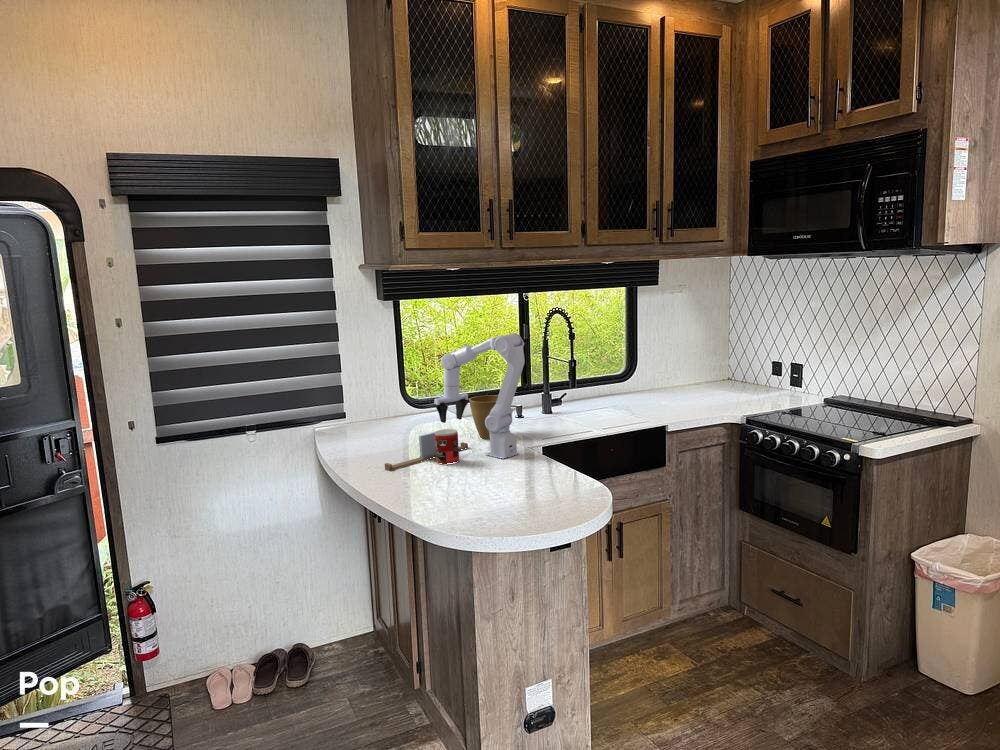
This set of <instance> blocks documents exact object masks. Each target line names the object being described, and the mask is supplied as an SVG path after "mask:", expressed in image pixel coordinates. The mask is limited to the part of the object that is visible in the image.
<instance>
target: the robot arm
mask: <svg viewBox="0 0 1000 750" xmlns="http://www.w3.org/2000/svg"><path fill="white" fill-rule="evenodd" d="M524 346H525V342H524V339H522V337H521V335H520V334H518V333H516V332H512V333H510V334H504V335H498V336H495V337H491V338H489V339H486V340H484V341H483V342H480V343H478V344H476V345H474V346H473V345H472V344H471V345H470V344H469V345H468V344H464V345H461V348H459V349H454V350H452V352H451V353H445V354H444V355H442V356H441V358H440V363H441V367H442V368H443V396H440V397H437V398H434V400H433V404H434V407H435V408H436V410H437V412H438V416H439V420H440V423H443V424H445V423H446V421H447V412H448V408H449V405H446V404H447V403H454V404H455V411H456V412H455V413H456V414H455V416H456V420H462V418H463V415H464V412H465V409H466V407H467V406H468V403H469V394H467V393H460V371H461V367H462V366H464V365H465V364H468V363H470V362H472V361H475V360H476V359H477V356H478V355H479V354H482V353H485V352H488V351H490V350H492V351H496V352H497V354H499V355H500V356H501V357H502V358H503V359H504V360H505V361H506V363H507V366H506V368H505V369H506V371H505V372H504V376H503V379H502V382H501V386H500V388H499V389H500V390H499V393H498V399H497V402H496V404H495V406H494V407H493V408H492V410H491V411H490V414H489V415H488V416H487V417H486V419H485V425H486V428H487V429H488V430H489V433H490V440H489V445H490V446H489V447H490V448H489V449H490V452H486V453H485V456H488V455H489V456H488V457H492V456H494V457H493V458H497V457H498V459H501V458H502V459H503V460H504V458H505V459H508V458H510V457H515V456H517V454H518V455H519V454H520V453H519V452H518V447H517V444H518V443H517V437H516V435H515V433H513V432H511V431H510V427H511V425H512V423H513V409H512V404H513V401H514V399H515V393H516V392H517V389H518V386H519V385H518V384H519V381H520V378H521V376H522V373H523V368H524V366H525V361H526V360H525V353H524ZM514 455H515V456H514ZM507 457H508V458H507Z"/></svg>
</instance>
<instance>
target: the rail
mask: <svg viewBox="0 0 1000 750" xmlns="http://www.w3.org/2000/svg"><path fill="white" fill-rule="evenodd" d="M458 446H459V450H461V449H465V448H468V449H469V444H468V443H467V442H460V444H459V445H458ZM465 450H466V449H465ZM461 451H462V450H461ZM433 457H436V455H434V456H430V457H427V458H420V457H416V458H413V459H409V460H407V461H403V462H399V463H396V464H392V463H389V462H387V463H384V470H385V471H389V472H390V471H394V470H397V469H400V468H404V467H408V466H412V465H415V464H418V463H417V462H419V463H422V462H425V461H424V460H426V461H428V460H427V459H430V458H433ZM433 459H434V458H433ZM430 460H431V459H430ZM421 461H422V462H421ZM414 463H415V464H414Z"/></svg>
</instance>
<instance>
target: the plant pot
mask: <svg viewBox="0 0 1000 750" xmlns="http://www.w3.org/2000/svg"><path fill="white" fill-rule="evenodd" d="M498 395H499V394H498ZM498 395H496V394H494V395H493V394H488V395H478V396H477V395H476V396H473V397H470V398H468V403H469V407H470V411H471V415H472V418H473V423H474V425H475V428H476V431H477V432H478V436H479V438H480V439H481V438H482V439H481V440H485V439H490V433H489V430H488V429H487V428H486V425H485V419H486V417H487V416H488V415H489V414H490V411H491V410H492V408H493V407H494V406H495V404H496V402H497V399H498Z"/></svg>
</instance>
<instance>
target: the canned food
mask: <svg viewBox="0 0 1000 750" xmlns="http://www.w3.org/2000/svg"><path fill="white" fill-rule="evenodd" d="M434 432H435V445H436V458H435V459H436V463H437V462H438V463H442V464H447V463H453V462H457V461H458V462H460V451H459V446H460V445H459V435H458V430H457V429H453V428H449V429H448V428H445V429H440V430H436V431H434ZM458 462H457V463H458ZM438 463H437V464H438Z"/></svg>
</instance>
